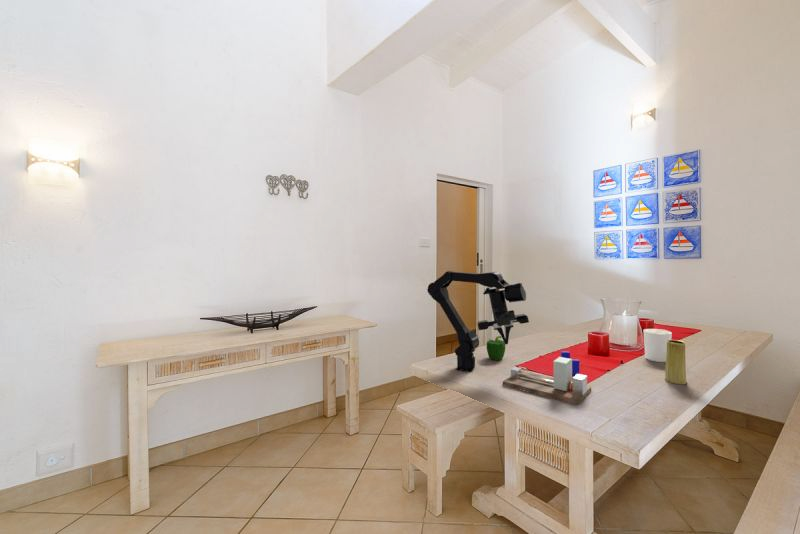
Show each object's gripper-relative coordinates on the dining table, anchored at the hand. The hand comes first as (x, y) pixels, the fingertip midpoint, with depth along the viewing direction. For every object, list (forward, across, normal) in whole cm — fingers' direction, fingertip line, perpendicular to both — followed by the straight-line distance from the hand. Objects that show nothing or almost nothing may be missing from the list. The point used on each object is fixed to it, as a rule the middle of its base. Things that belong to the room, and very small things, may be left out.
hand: (506, 344), depth 133 cm
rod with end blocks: (+14, +10, -10) cm, 20 cm away
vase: (+22, +55, +1) cm, 59 cm away
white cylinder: (+21, +62, +27) cm, 71 cm away
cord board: (+15, +9, -10) cm, 20 cm away
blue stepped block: (+16, +22, +9) cm, 28 cm away
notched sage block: (+14, +14, -13) cm, 24 cm away
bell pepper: (+10, -4, +22) cm, 25 cm away
